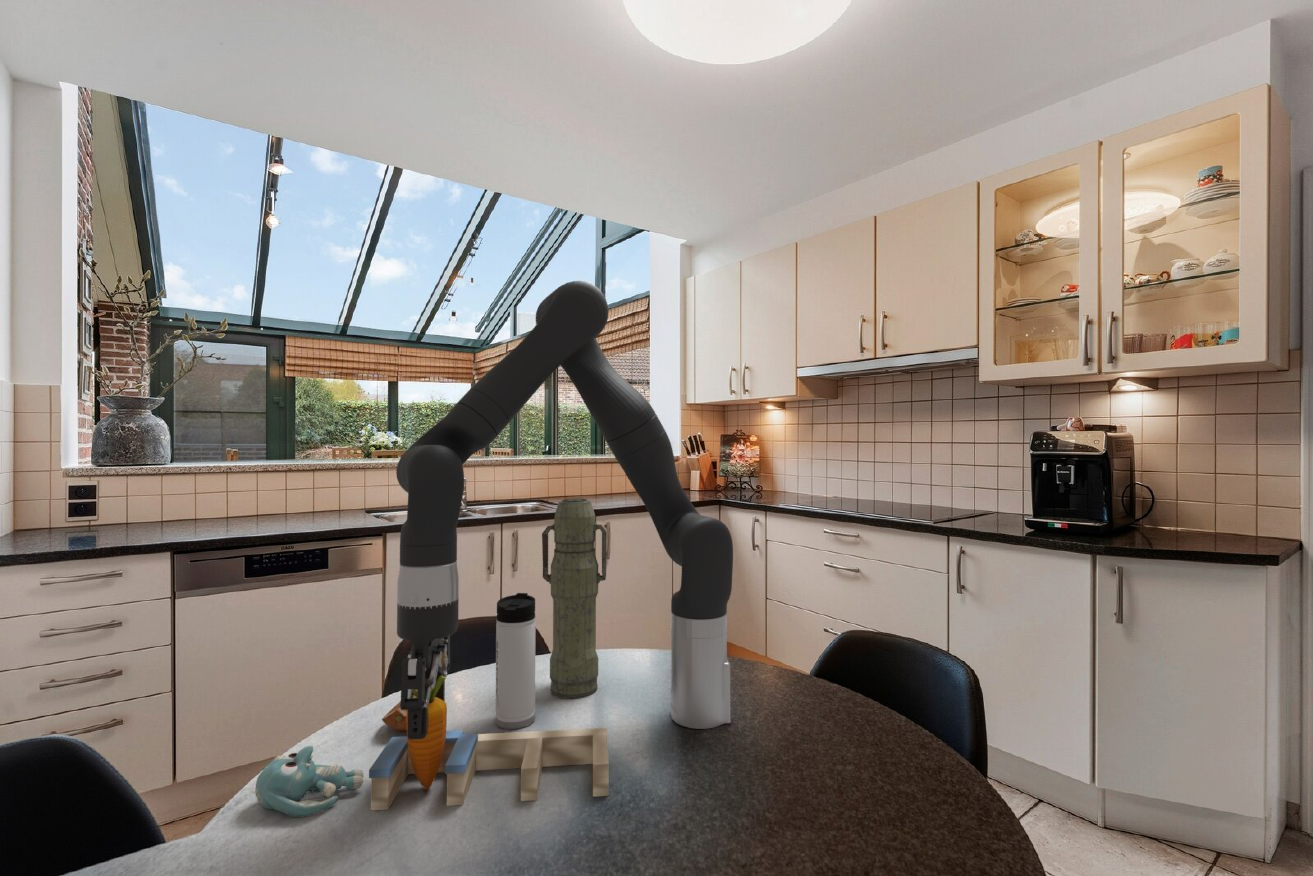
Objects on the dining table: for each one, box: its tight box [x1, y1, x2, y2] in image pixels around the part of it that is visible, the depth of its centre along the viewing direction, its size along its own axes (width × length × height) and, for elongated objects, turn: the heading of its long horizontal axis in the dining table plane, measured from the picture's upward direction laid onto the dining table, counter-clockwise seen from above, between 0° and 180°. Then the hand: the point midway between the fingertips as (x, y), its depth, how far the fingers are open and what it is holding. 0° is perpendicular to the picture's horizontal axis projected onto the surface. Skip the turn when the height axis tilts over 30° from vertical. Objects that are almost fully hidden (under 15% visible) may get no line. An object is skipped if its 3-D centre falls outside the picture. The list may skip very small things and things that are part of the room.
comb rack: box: [368, 727, 610, 811], centre depth 79 cm, size 29×10×5 cm, turn 96°
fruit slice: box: [381, 690, 418, 731], centre depth 94 cm, size 8×7×5 cm
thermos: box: [541, 498, 608, 700], centre depth 110 cm, size 9×12×35 cm
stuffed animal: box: [255, 745, 365, 818], centre depth 75 cm, size 11×7×12 cm
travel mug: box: [495, 592, 536, 730], centre depth 97 cm, size 6×7×20 cm
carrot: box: [406, 676, 448, 790], centre depth 77 cm, size 5×5×15 cm
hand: (427, 722), depth 77 cm, fingers open, 8 cm apart
